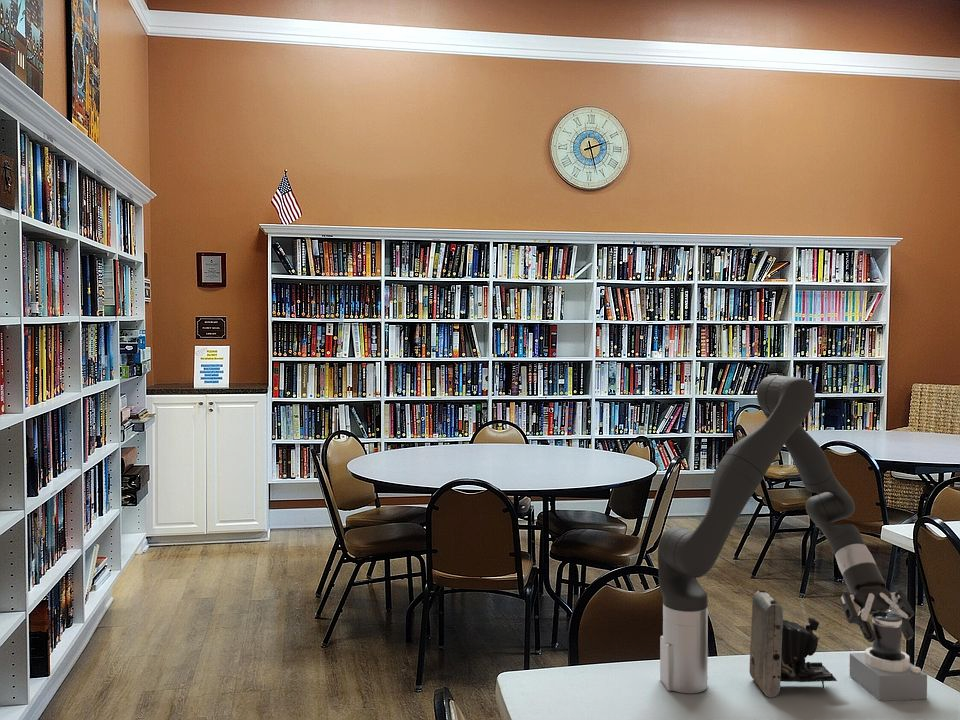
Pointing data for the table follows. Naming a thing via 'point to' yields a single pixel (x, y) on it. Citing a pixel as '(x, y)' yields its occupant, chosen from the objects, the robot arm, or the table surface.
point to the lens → (887, 636)
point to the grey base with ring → (888, 676)
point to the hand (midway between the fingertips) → (891, 639)
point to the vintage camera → (781, 648)
